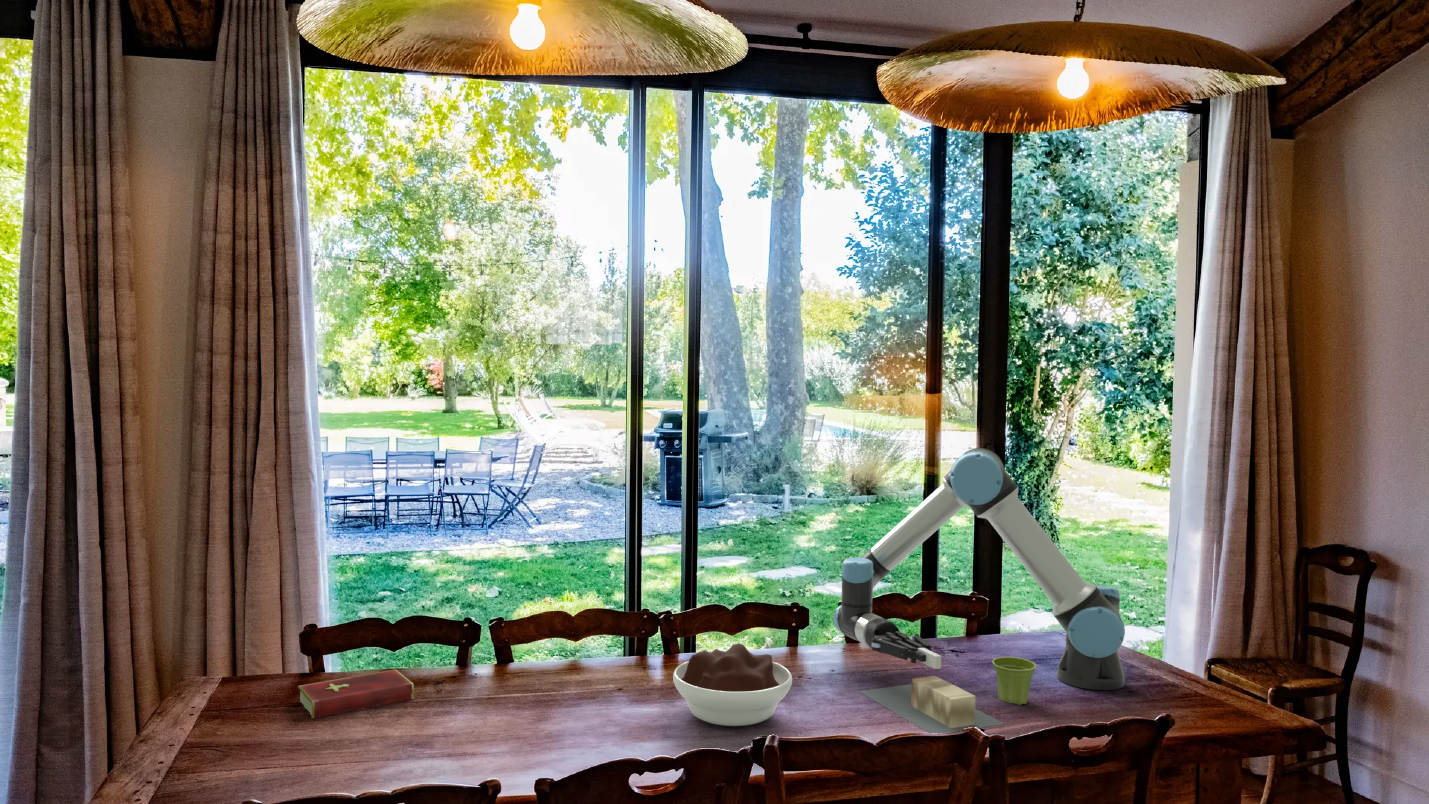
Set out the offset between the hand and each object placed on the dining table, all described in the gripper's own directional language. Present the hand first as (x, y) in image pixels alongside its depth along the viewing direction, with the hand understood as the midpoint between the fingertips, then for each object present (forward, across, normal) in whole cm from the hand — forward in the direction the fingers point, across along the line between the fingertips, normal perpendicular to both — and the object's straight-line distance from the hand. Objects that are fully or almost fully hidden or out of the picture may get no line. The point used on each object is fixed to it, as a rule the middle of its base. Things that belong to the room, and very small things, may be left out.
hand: (938, 662), depth 208 cm
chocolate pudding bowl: (-14, +42, -12) cm, 46 cm away
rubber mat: (-3, 0, -11) cm, 12 cm away
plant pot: (-1, -22, -12) cm, 25 cm away
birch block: (-5, 0, -8) cm, 9 cm away
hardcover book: (-50, +114, -12) cm, 125 cm away
